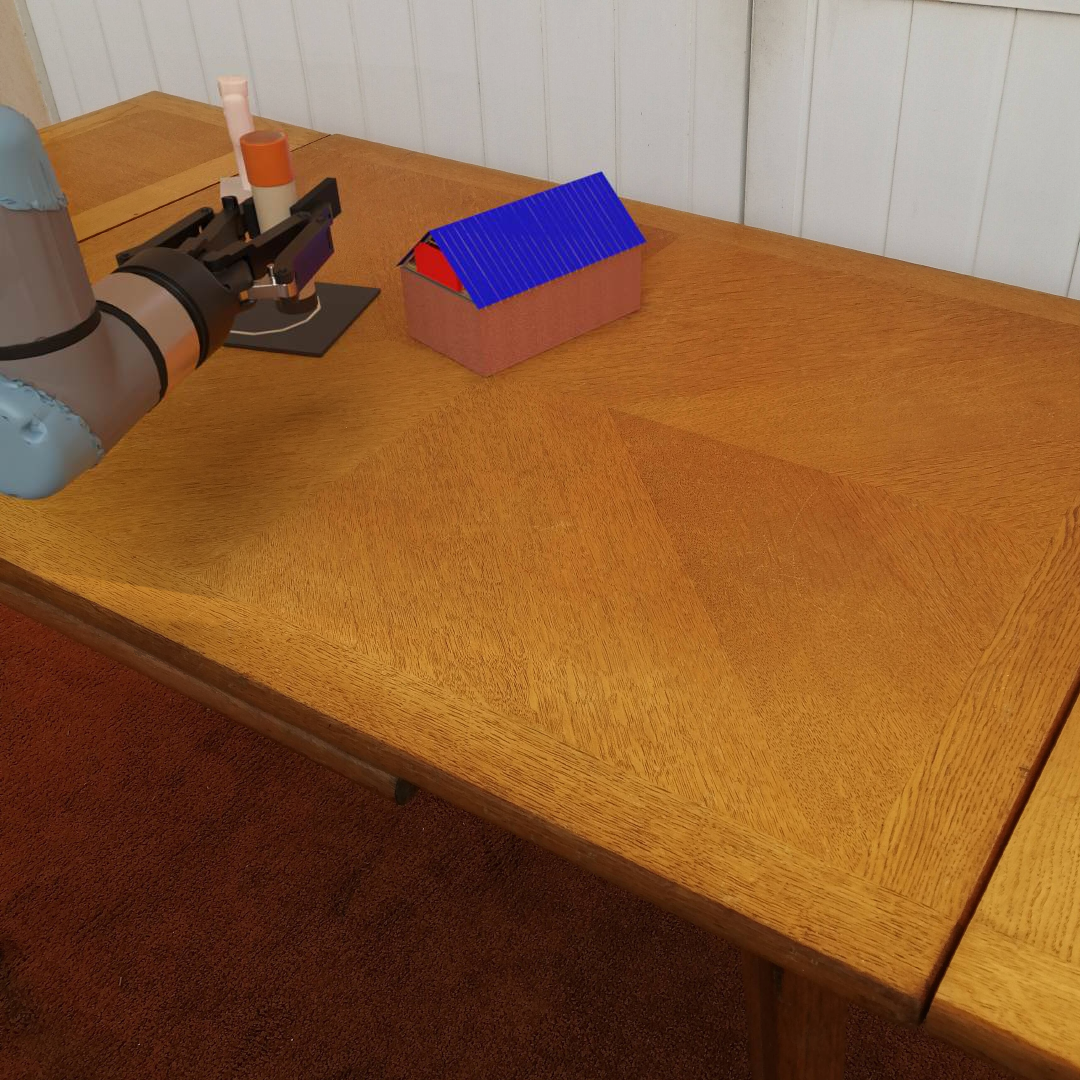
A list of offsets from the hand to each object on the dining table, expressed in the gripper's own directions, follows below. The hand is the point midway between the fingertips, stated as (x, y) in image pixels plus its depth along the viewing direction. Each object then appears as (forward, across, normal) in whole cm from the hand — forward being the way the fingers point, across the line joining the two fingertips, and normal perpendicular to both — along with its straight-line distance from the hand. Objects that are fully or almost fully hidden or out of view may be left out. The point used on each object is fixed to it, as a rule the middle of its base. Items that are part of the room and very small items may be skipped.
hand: (311, 193), depth 88 cm
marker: (-5, 0, -7) cm, 9 cm away
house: (+14, +13, -16) cm, 25 cm away
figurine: (+32, -25, -16) cm, 43 cm away
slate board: (+10, -13, -16) cm, 23 cm away
